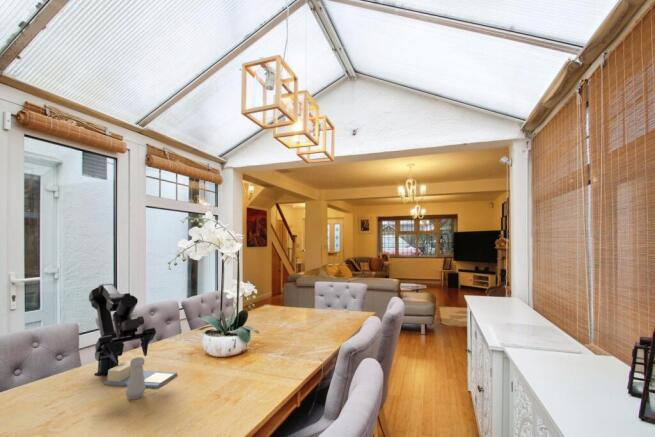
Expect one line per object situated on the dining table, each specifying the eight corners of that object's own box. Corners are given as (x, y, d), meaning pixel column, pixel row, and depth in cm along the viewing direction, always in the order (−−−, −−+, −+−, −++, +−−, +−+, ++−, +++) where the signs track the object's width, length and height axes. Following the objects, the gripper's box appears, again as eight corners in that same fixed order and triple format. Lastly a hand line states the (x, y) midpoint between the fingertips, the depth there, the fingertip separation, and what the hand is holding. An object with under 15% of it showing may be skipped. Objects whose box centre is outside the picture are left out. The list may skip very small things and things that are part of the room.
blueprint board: (104, 384, 117) (105, 370, 117) (128, 371, 129) (129, 359, 129) (156, 388, 114) (157, 374, 114) (176, 375, 126) (177, 362, 126)
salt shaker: (135, 402, 104) (137, 362, 105) (121, 400, 105) (123, 361, 106) (148, 393, 110) (150, 356, 111) (135, 392, 111) (137, 355, 112)
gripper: (99, 314, 110) (107, 353, 102) (155, 306, 124) (166, 340, 116) (92, 333, 114) (98, 371, 106) (147, 323, 128) (156, 357, 120)
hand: (132, 359), depth 112 cm, fingers open, 9 cm apart
